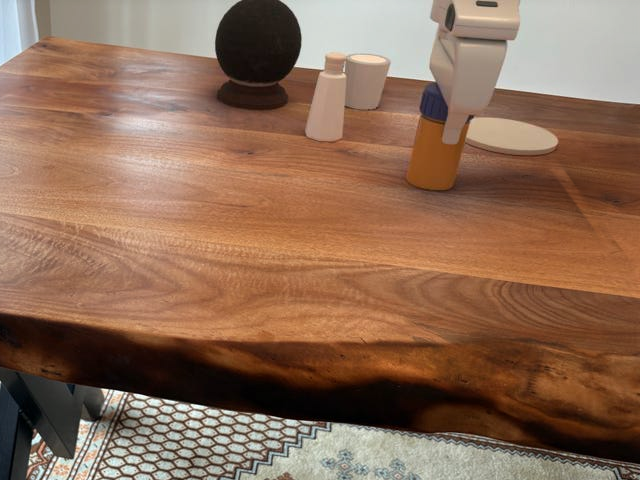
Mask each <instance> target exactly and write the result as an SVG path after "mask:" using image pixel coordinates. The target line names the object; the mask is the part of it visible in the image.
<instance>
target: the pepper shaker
mask: <svg viewBox="0 0 640 480" xmlns="http://www.w3.org/2000/svg"><path fill="white" fill-rule="evenodd" d="M346 56H347V55H346V54H344V53H341V52H328V53H325V56H324V59H325V61H324V64H323V65H324V68H323V70H322V71H320V72H319V73H318V74H319V75H318V77H317V81H316V86H315V89H314V93H313V97H312V100H311V101H312V102H311V105H310V109H309V113H308V116H307V121H306V125H305V129H304V133H305V136H306V138H308V139H311V140H314V141H316V142H327V143H329V142H330V143H334V142H336V141H339V140H340V141H341V140H342V139H343V132H344V120H345V119H344V118H345V107H346V106H345V92H346V75H345V61H346V58H347V57H346Z"/></svg>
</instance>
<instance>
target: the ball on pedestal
mask: <svg viewBox="0 0 640 480" xmlns="http://www.w3.org/2000/svg"><path fill="white" fill-rule="evenodd" d="M302 40H303V37H302V30H301V26H300V23H299V20H298V18H297V15H296V14H295V13H294V11H293V10H292V9H291V8H290V7H289V5H287V4H286V3H285V2H283V1H282V0H239V1H236V3H235V4H233V5H231V7H229V9H228V10H227V11H226V12H225V13H224V15H222V18H221V20H220V21H219V23H218V26H217V29H216V32H215V39H214V52H215V57H216V60H217V63H218V65H219V67H220V68H221V70H222V72H223V73H224V75H225V76H226V77H228V79H229V80H228V81H226V82H223V83H222V85H220V88H219V89H218V90H217V96H216V99H217V100H218V101H219V102H220V103H222V104H225V105H226V106H230V107H234V108H239V109H245V110H253V111H254V110H255V111H257V110H259V111H261V110H262V111H264V110H274V109H278V108H282V107H284V106H286V105H287V104H288V101H289V95H288V93H287V92H286V89H285V88H284V87H283V86H282V85H280V83H279V82H281V81H282V80H284V79H285V78H287V76H288V75H289V74H290V73H291V72H292V70H293V69H294V67H295V66H296V64H297V62H298V59H299V57H300V54H301V51H302Z"/></svg>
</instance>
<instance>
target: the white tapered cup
mask: <svg viewBox="0 0 640 480" xmlns="http://www.w3.org/2000/svg"><path fill="white" fill-rule="evenodd" d="M345 56H346V57H347V58H346V60H345V66H344V74H345V75H346V92H345V106H344V107H348V108H350V109H355V110H362V111H363V110H365V111H366V110H368V109H369V110H375V109H377V108H378V107H379V105H380V101H381V97H382V94H383V91H384V87H385V84H386V80H387V77H388V74H389V70H390V67H391V64H392V63H391V62H392V61H391V59H390V58H388V57H386V56H382V55H380V54H374V53H373V54H372V53H351V54H348V55H345ZM376 107H377V108H376Z"/></svg>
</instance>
